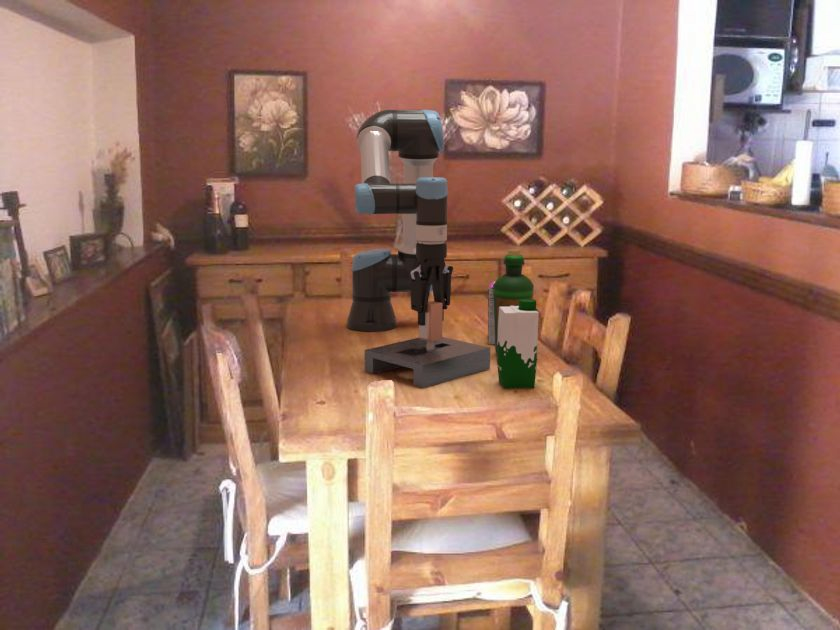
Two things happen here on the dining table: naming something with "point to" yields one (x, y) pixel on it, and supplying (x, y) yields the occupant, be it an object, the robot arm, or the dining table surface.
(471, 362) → the keyhole bracket
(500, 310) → the milk carton
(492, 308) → the candy bar box
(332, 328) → the dining table surface
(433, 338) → the keyhole peg
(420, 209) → the robot arm
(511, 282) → the bottle
